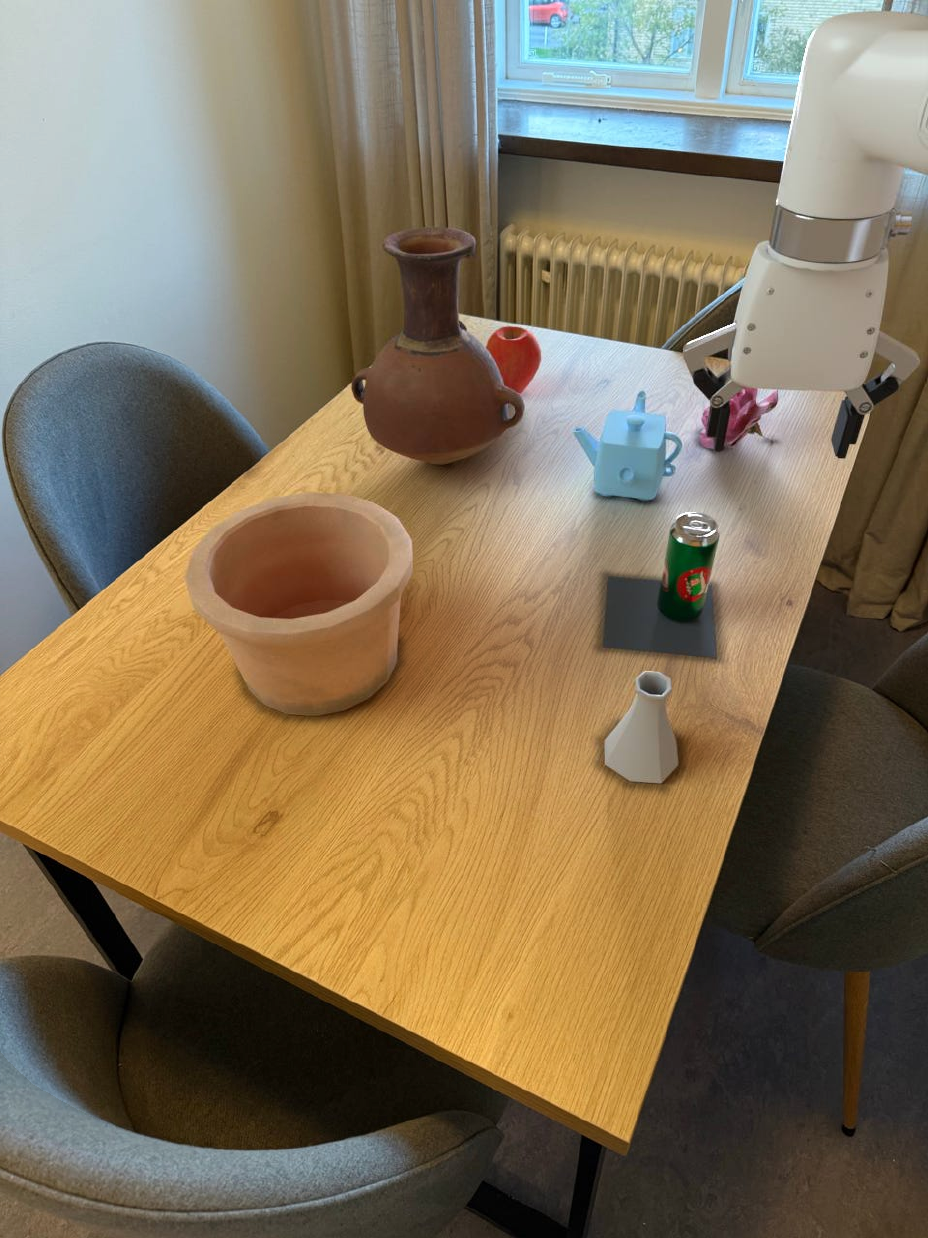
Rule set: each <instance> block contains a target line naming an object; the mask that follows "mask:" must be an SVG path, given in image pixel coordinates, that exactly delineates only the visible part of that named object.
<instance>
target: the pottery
mask: <svg viewBox="0 0 928 1238" xmlns="http://www.w3.org/2000/svg"><path fill="white" fill-rule="evenodd" d="M412 541H413V540H412V538H411V537H410V535H409V533H408V532H407V530H406V529H405V527H404V526H403V524H402V522H401V521H400V519H399V517H397V516H396V515H394V514H392V513H391V512H390V511H388V510H386V509H385V508H384V507H382V506H381V505H379V504H377V503H376V502H373V501H370V500H367V499H363V498H359V497H356V496H353V495H349V494H346V493H332V492H331V493H329V492H304V493H303V492H302V493H296V494H290V495H289V494H288V495H284V496H277V497H272V498H270V499H267V500H265V501H261V502H258V503H256V504H253V505H250V506H246V507H244V508H242V509H239V510H238V511H236V512H234V513H233V514H232V515H230V516H228V517H227V518H225V519H224V520H222V521H221V522H219V523H217V524H216V525H214V526H213V527H211V528H210V529H209V530H208V531H207V533H206V534H205V535H204V537H203V538H201V540H200V541H199V542H198V544H196V545H195V547H194V548H193V549H192V550H191V554H190V557H189V561H188V564H187V568H186V571H185V574H184V580H185V584H186V587H187V591H188V594H189V598H190V602H191V605H192V607H193V610H194V612H195V613H196V614H197V615H198V616H199V617H200V618H202V620H204V621H205V623H207V624H208V625H209V626H210V627H211V628H212V629H213V630H214V631H215V632H216V633H218V634H219V636H220V637H221V639H222V641H223V643H224V645H225V646H226V649H227V651H228V652H229V654H230V656H231V658H232V660H233V662H234V664H235V665H236V667H237V669H238V671H239V673H240V675H241V677H242V678H243V680H244V682H245V684H246V686H247V689H248V691H249V692H250V693H251V694H252V695H254V697H255V698H256V699H257V700H258V701H260V702H261V703H262V705H264V706H266V707H269V708H271V709H274V710H275V711H278V712H281V713H284V714H286V715H293V716H295V715H296V716H308V717H317V716H323V715H327V714H328V715H329V714H332V713H338V712H344V711H346V710H348V709H350V708H352V707H354V706H356V705H358V704H360V703H363V702H364V701H367V700H368V699H370V698H371V697H372V696H374V695H375V694H376V693H377V692H378V691H379V690H380V689H381V688H382V687H383V686H385V684H386V683H388V682H389V679H390V677H391V675H392V673H393V671H394V670H395V667H396V665H397V663H398V644H399V643H398V641H399V628H400V615H401V613H400V612H401V601H402V600H401V599H402V595H403V593H404V591H405V589H406V586H407V585H408V583H409V582H410V581H411V578H412V576H413V574H414V568H413V567H414V566H413V565H414V564H413V561H414V560H413V542H412Z"/></svg>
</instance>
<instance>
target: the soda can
mask: <svg viewBox="0 0 928 1238" xmlns="http://www.w3.org/2000/svg"><path fill="white" fill-rule="evenodd" d="M718 527H719V525H718V523H717V521H716V519H714V518H713V517H711V516H710V515H707V514H705V513H701V512H694V511H693V512H691V511H689V512H685V513H682V514H680V515H678V516H677V517H676V519H675V521H674V522H673V523H672V524H671V526H670V528H669V533H668V538H667V543H666V548H665V549H666V551H665V556H664V560H663V567H662V573H661V578H660V581H661V583H660V589H659V595H658V601H657V607H658V609H659V611H660V612H661V613H662V614H663V615H664V616H665V617H666V618H668V619H670V620H672V621H676V622H688V621H692V620H694V619H696V618H698V617H699V616H700V615H701V613H702V611H703V607H704V603H705V598H706V594H707V589H708V585H710V580H711V575H712V572H713V567H714V563H715V558H716V554H717V550H718V545H719V541H720V535H721V534H720V532H719V529H718Z"/></svg>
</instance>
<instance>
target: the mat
mask: <svg viewBox="0 0 928 1238" xmlns="http://www.w3.org/2000/svg"><path fill="white" fill-rule="evenodd" d="M660 583H661V579H660V580H659V579H649V578H648V579H647V578H635V577H625V576H615V575H614V576H613V575H607V583H606V597H605V610H604V611H605V612H604V626H603V636H602V637H603V638H602V648H607V649H616V650H617V649H618V650H628V651H637V652H647V653H648V652H650V653H658V654H667V655H678V656H690V657H699V658H708V659H717V645H716V643H717V642H716V629H715V615H714V614H715V613H714V612H715V611H714V599H713V598H714V597H713V585H712V584H709V585H708V589H707V594H706V598H705V603H704V607H703V611H702V613H701V615H700V616H699V617H698V618H696V619H694V620H692V621H688V622H676V621H672V620H670V619H668V618H666V617H665V616H664V615H663V614H662V613H661V612H660V611H659V609H658V607H657V601H658V595H659V589H660Z"/></svg>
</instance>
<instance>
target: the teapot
mask: <svg viewBox="0 0 928 1238" xmlns="http://www.w3.org/2000/svg"><path fill="white" fill-rule="evenodd" d="M646 399H647V393H646V392H645V391H644V390H641V391H639V392H638V393H637V395H636V400H635V403H634V406H633V410H620V409H611V410H610V411H609V412H608V414H607V416H606V419H605V421H604V424H603V428H602V430H601V431H602V432H601V434H600V438H599V440H597V439H596V438H595V437H594V436H592V434H591V433H589V431H587V429H585V427H584V426H581V427H574V428H573V430H572V433H573V435H574V437H575V439H576V440H577V442H578V443H579V445H580V446H581V449H582V450H583V452H584V453H585V455H586V457H587V458H588V460H589V461H590V463H591V465H592V466H593V467H594V470H593V471H594V472H593V486H594V491H595V492H596V493H597V494H600V495H601V496H604V497H612V496H615V497H623V498H632V499H637V500H639V501H641V502H648V501H650V500H654V499H655V498H656V497H657V495H658V492H659V489H660V487H661V483H662V480H663V477H666V478H669V477H672V476H674V475H675V473H676V466H675V464H673V462H674V461H675V459H676V458H677V457H678V456H679V455H680V453H681V451H682V448H683V442H682V440H681V438H680V437H679V436H678V434H676V433H674V432H670V431H667V417H666V416H665V415H664V414H659V413H650V412H646ZM667 440H668V441H671V442H673V443H674V444H675V448H674V449H673V451H672V452H671V453H670V455H669V456H668V457H667ZM668 469H669V470H668Z"/></svg>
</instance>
